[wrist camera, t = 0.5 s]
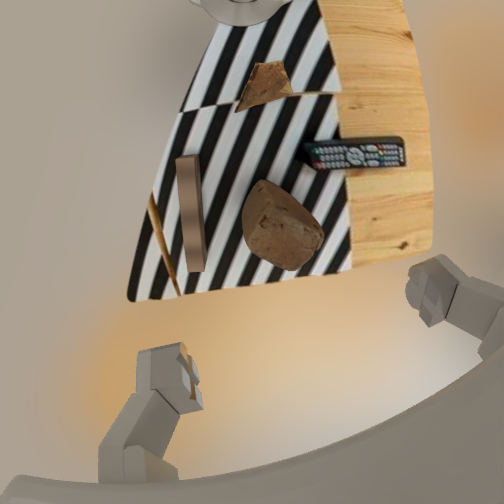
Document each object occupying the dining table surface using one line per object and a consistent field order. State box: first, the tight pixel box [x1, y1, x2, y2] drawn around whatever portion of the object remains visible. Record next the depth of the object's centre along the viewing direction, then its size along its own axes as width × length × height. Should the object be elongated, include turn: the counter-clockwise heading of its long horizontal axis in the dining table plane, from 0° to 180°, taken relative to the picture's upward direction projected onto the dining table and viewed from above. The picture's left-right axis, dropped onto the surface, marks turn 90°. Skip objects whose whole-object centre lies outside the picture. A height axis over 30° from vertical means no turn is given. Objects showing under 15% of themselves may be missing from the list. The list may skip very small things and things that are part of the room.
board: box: [176, 154, 207, 272], centre depth 52 cm, size 20×3×6 cm, turn 2°
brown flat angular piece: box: [235, 61, 293, 113], centre depth 45 cm, size 11×8×2 cm
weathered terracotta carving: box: [242, 180, 324, 271], centre depth 46 cm, size 11×8×20 cm
